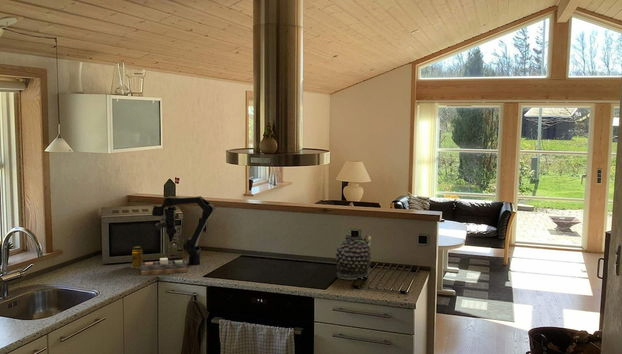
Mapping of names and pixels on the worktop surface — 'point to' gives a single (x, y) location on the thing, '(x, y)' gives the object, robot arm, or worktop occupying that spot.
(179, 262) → the key sage
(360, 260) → the pine cone figurine
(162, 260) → the key cream
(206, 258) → the worktop surface
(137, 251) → the condiment
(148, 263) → the key terracotta
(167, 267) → the keypad
